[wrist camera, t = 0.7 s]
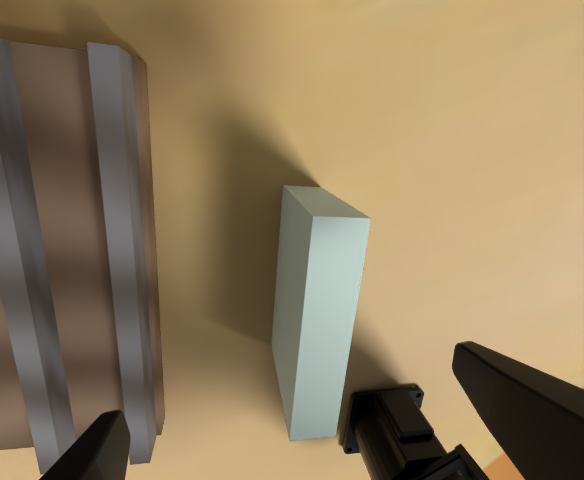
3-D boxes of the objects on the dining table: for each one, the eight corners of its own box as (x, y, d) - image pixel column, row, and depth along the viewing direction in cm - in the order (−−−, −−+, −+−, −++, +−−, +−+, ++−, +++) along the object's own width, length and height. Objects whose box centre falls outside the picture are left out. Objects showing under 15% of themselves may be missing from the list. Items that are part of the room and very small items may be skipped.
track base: (164, 417, 24) (154, 462, 21) (-21, 433, 22) (-65, 485, 19) (146, 63, 17) (126, 46, 14) (-138, 28, 14) (-245, -1, 11)
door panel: (303, 343, 24) (335, 436, 17) (271, 344, 24) (289, 441, 17) (320, 186, 21) (371, 218, 13) (282, 184, 20) (313, 216, 13)
